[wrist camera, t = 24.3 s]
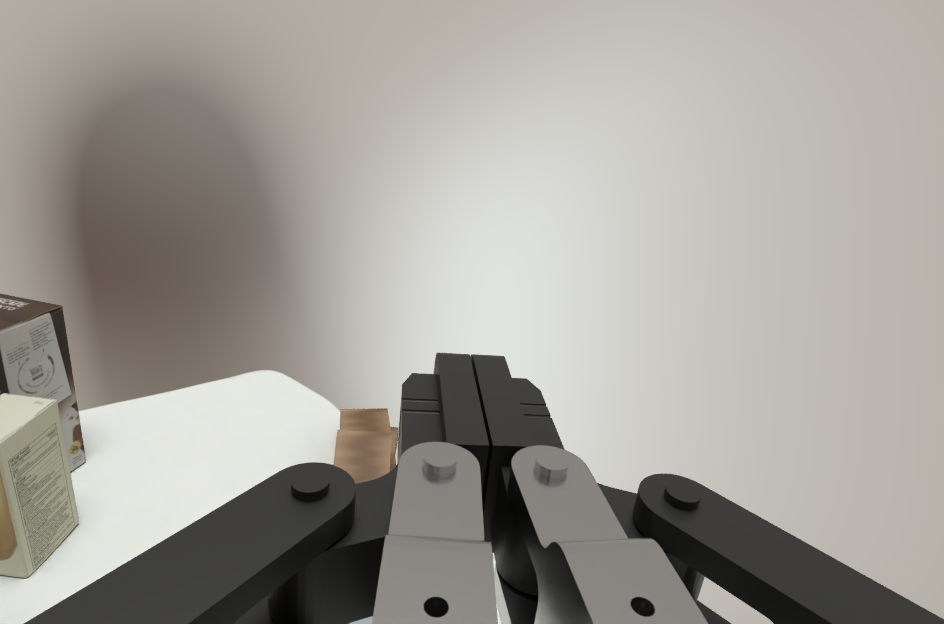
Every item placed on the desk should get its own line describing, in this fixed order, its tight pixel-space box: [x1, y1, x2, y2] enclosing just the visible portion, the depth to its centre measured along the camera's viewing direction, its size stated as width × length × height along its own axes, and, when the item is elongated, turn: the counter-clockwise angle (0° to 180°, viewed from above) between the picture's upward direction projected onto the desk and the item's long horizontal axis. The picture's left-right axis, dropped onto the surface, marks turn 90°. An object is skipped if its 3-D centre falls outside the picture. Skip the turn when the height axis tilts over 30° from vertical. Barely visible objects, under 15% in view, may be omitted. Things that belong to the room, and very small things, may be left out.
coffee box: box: [0, 294, 86, 472], centre depth 54 cm, size 9×6×16 cm
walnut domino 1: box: [340, 409, 396, 471], centre depth 62 cm, size 5×2×10 cm
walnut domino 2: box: [334, 430, 392, 484], centre depth 54 cm, size 5×2×10 cm
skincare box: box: [0, 393, 79, 578], centre depth 46 cm, size 6×4×12 cm
